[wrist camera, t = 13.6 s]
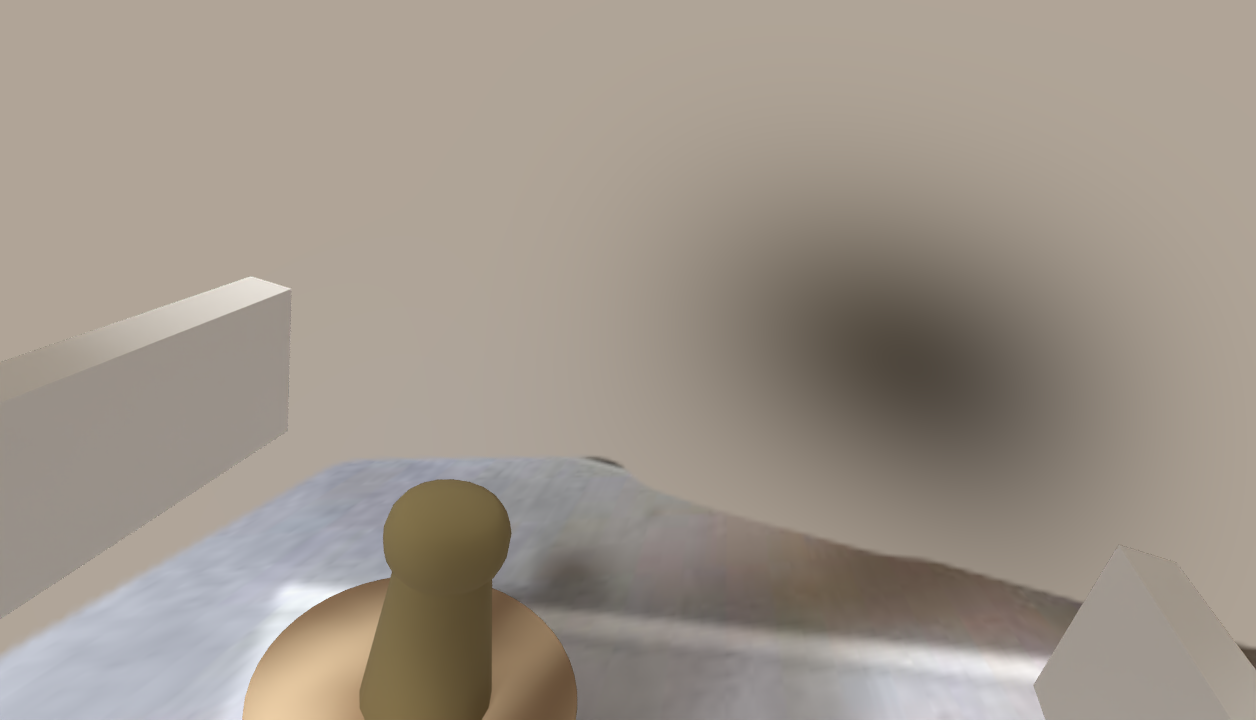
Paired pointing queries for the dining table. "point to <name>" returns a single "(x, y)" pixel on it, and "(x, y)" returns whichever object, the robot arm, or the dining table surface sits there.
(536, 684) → the stack of pancakes
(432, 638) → the cork
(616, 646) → the dining table surface
